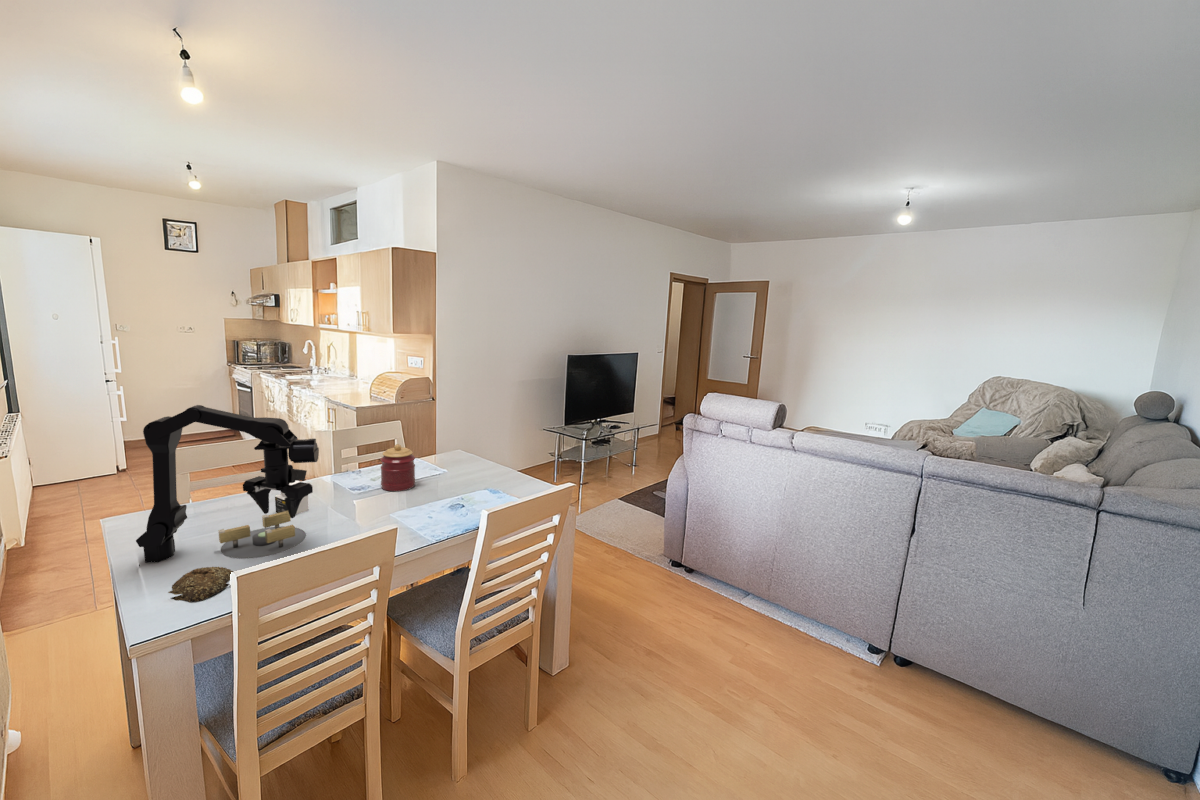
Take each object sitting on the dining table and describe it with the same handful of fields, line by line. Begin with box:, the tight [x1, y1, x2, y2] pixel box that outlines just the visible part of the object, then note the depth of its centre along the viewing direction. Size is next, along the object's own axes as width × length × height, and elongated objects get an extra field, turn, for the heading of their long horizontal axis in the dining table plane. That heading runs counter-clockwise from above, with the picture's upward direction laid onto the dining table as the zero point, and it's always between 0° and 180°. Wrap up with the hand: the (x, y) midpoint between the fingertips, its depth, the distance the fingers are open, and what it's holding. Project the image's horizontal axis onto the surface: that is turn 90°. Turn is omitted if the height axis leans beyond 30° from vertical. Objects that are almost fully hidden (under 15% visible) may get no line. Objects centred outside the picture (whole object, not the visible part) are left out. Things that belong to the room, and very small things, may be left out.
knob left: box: [217, 524, 251, 548], centre depth 141 cm, size 2×7×6 cm, turn 137°
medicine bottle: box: [274, 480, 309, 515], centre depth 167 cm, size 7×7×12 cm
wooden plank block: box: [261, 511, 292, 529], centre depth 152 cm, size 2×7×6 cm, turn 142°
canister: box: [380, 443, 416, 492], centre depth 198 cm, size 13×13×18 cm
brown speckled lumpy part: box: [167, 566, 234, 603], centre depth 122 cm, size 13×12×5 cm
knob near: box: [265, 524, 296, 548], centre depth 142 cm, size 2×7×6 cm, turn 138°
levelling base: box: [220, 525, 307, 560], centre depth 145 cm, size 21×21×4 cm
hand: (279, 515), depth 141 cm, fingers open, 9 cm apart
